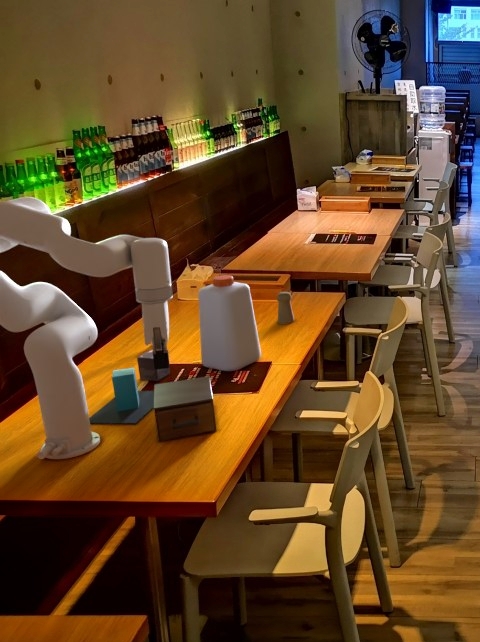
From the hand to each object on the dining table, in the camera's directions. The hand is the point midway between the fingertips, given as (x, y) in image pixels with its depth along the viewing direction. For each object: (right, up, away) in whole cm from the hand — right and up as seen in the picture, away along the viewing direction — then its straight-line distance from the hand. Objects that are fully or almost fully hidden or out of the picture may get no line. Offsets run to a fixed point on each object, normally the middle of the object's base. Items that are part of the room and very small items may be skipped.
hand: (162, 367), depth 170 cm
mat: (-23, -15, +29) cm, 40 cm away
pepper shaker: (0, +5, +99) cm, 99 cm away
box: (-25, -9, +49) cm, 56 cm away
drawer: (-1, -17, +16) cm, 24 cm away
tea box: (-23, -14, +29) cm, 40 cm away
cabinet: (-3, -17, +20) cm, 26 cm away
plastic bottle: (-6, -6, +61) cm, 61 cm away
